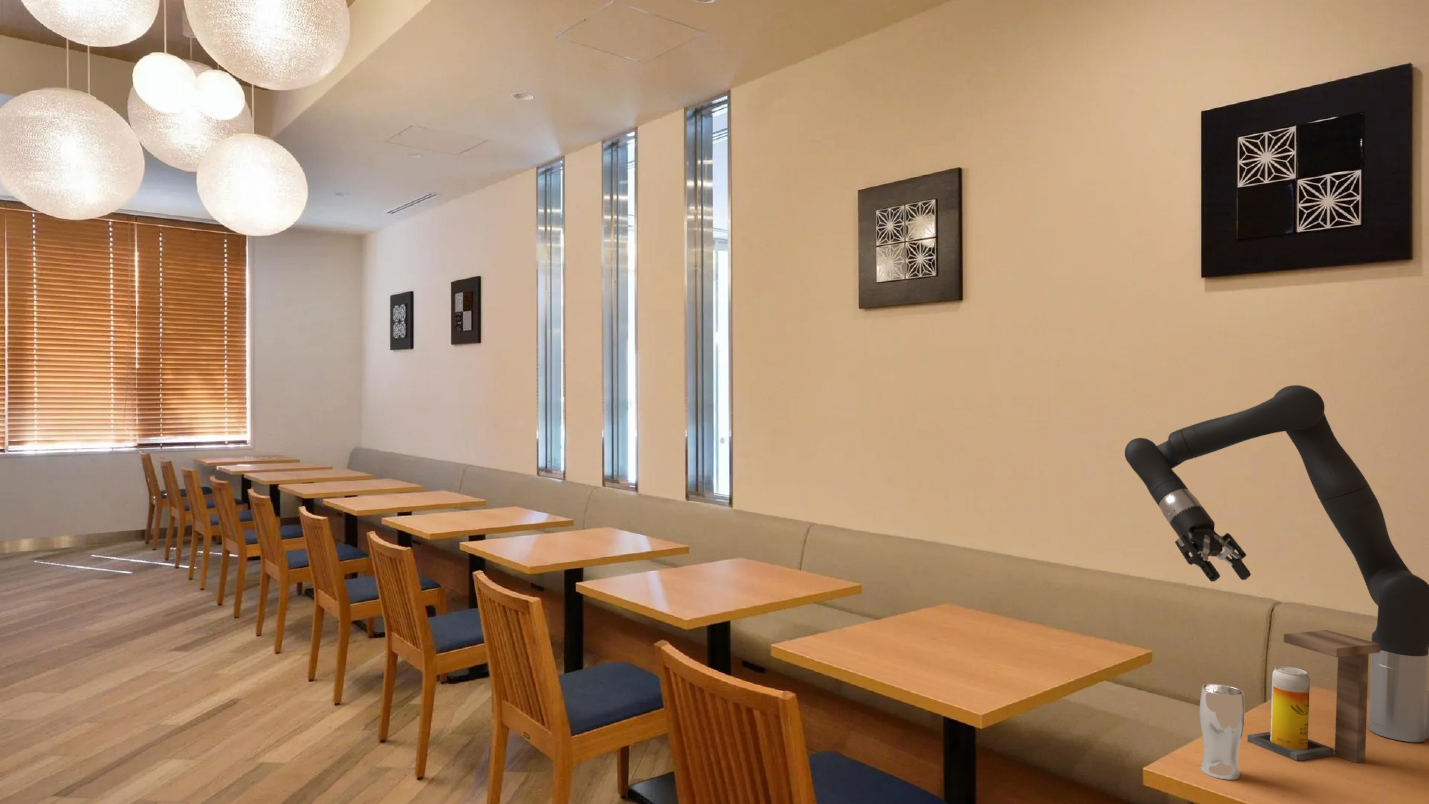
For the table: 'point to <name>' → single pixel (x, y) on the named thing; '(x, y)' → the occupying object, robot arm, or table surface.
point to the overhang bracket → (1349, 696)
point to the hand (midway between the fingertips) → (1231, 578)
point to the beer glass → (1221, 729)
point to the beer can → (1290, 708)
